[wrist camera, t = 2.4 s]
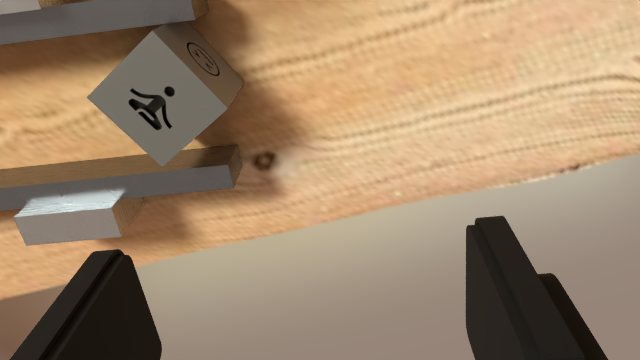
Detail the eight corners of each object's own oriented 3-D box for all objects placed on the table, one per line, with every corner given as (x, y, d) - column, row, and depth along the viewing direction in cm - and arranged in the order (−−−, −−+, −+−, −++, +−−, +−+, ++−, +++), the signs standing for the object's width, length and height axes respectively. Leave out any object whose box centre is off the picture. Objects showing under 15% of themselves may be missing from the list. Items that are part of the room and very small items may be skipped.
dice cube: (125, 72, 30) (86, 97, 25) (181, 14, 28) (152, 30, 24) (187, 133, 31) (162, 167, 27) (244, 81, 30) (227, 108, 25)
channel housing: (194, -59, 26) (171, -57, 23) (248, 194, 33) (236, 226, 29) (-156, -9, 28) (-228, 0, 24) (-38, 221, 35) (-81, 255, 31)
